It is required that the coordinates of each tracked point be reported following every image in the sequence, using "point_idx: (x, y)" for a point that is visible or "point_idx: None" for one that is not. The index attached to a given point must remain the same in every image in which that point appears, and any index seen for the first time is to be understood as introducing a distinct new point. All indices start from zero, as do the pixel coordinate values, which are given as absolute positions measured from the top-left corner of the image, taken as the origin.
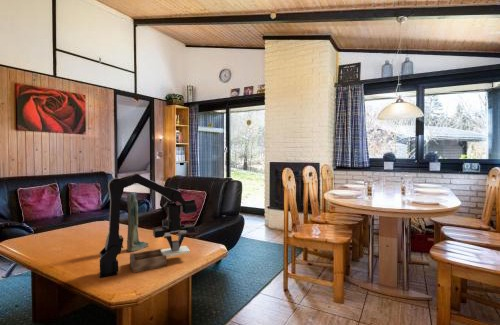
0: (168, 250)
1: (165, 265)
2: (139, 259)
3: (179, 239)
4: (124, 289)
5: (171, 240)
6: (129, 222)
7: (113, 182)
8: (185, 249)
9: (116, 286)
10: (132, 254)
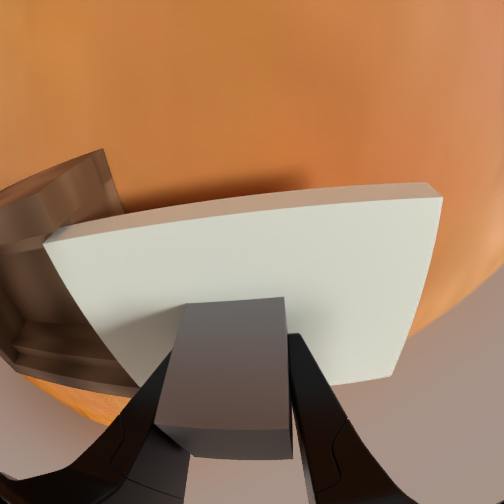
0: (150, 312)
1: None
2: None
3: (307, 482)
4: (90, 407)
5: (180, 496)
6: None
7: None
8: (365, 350)
9: (58, 387)
10: None
